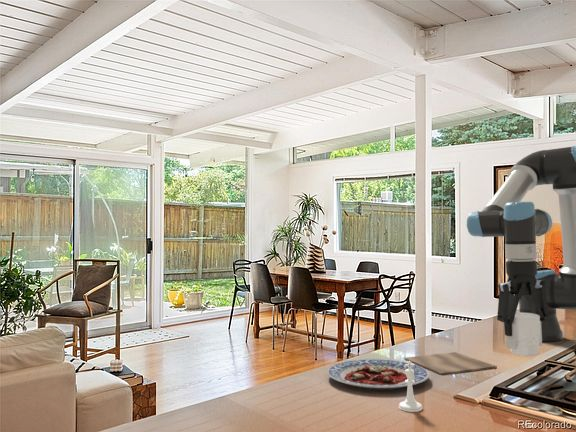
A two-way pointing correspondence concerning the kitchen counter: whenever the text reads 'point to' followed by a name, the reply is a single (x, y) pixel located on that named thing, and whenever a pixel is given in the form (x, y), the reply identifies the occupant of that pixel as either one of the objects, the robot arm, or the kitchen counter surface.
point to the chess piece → (410, 393)
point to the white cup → (527, 334)
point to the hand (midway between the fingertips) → (524, 346)
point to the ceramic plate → (376, 373)
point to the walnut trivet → (449, 363)
